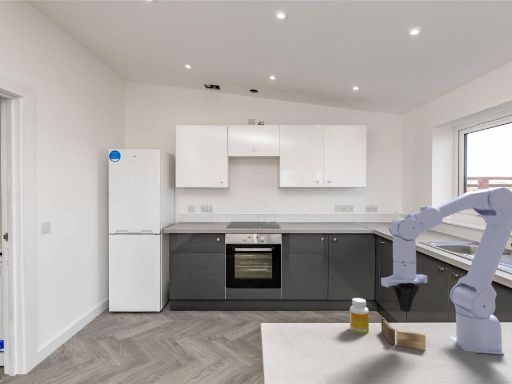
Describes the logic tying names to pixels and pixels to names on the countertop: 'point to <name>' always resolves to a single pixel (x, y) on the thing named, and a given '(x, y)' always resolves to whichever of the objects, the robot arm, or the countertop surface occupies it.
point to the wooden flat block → (411, 340)
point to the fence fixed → (388, 331)
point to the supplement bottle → (359, 316)
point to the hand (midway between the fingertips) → (405, 310)
